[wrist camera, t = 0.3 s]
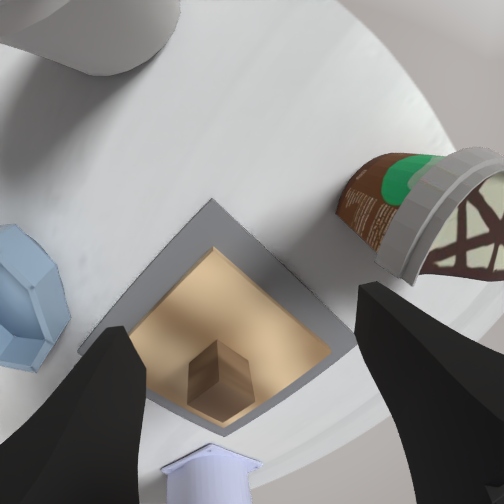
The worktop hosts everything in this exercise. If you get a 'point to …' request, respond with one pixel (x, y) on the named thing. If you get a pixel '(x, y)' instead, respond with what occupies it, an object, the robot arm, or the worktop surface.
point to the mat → (256, 268)
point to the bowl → (28, 301)
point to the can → (90, 31)
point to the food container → (431, 213)
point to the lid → (222, 343)
